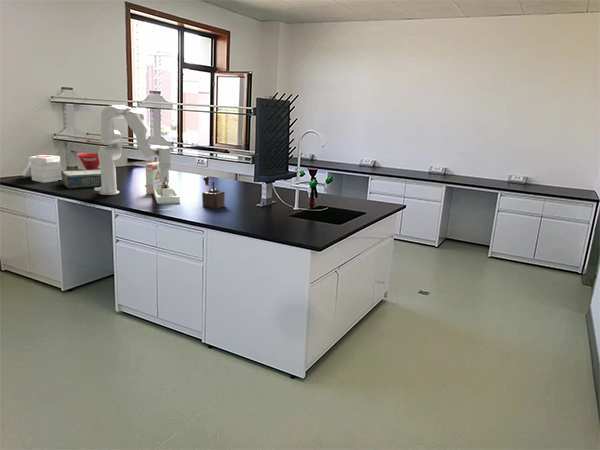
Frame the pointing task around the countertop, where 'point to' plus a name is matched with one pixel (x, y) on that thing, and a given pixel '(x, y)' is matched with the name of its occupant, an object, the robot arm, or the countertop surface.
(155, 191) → the tray
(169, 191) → the white block
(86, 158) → the fire bucket
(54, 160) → the pizza boxes
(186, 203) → the countertop surface
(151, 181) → the cracker box
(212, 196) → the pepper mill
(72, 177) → the metal box
